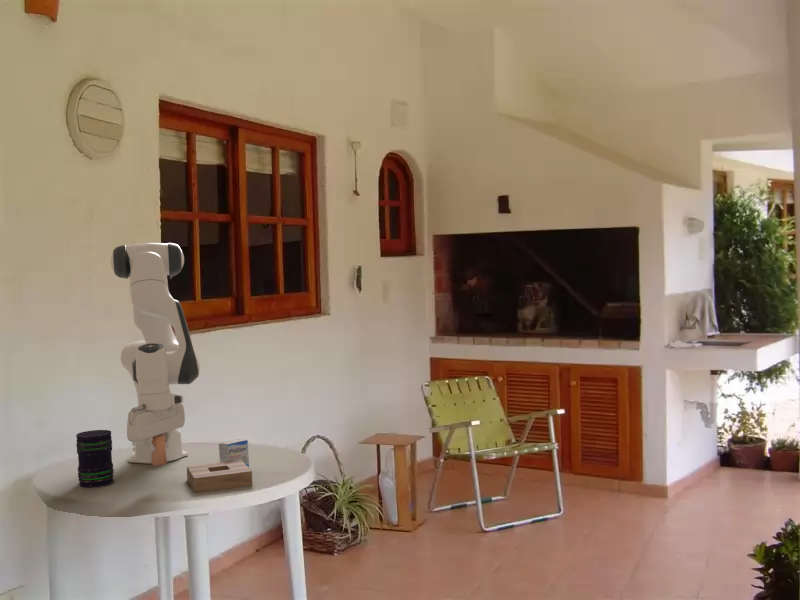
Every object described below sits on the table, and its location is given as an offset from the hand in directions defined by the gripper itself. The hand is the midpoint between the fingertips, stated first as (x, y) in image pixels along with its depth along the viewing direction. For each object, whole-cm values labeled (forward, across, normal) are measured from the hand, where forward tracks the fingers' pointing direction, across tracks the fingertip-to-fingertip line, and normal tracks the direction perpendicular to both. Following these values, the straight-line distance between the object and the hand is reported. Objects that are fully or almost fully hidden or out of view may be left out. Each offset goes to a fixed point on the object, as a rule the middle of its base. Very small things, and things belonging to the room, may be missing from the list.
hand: (158, 450), depth 238 cm
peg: (+4, 0, 0) cm, 4 cm away
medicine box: (+12, +25, -7) cm, 29 cm away
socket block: (+11, +11, -12) cm, 20 cm away
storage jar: (+11, -2, +23) cm, 25 cm away
